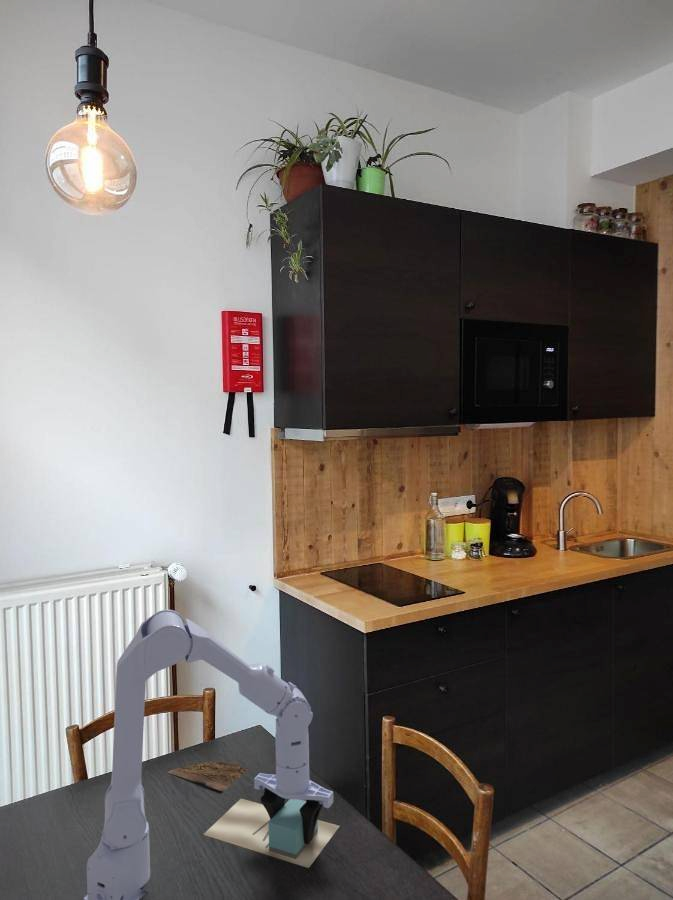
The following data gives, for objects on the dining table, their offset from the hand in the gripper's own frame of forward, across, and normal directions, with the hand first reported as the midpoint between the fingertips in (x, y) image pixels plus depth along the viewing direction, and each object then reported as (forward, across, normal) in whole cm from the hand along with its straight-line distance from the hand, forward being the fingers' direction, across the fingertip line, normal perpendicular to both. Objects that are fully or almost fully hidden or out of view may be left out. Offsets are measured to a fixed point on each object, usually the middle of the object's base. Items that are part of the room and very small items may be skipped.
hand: (293, 836), depth 116 cm
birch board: (+2, +5, -1) cm, 6 cm away
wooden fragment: (+3, +24, -14) cm, 28 cm away
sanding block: (+1, 0, 0) cm, 1 cm away
